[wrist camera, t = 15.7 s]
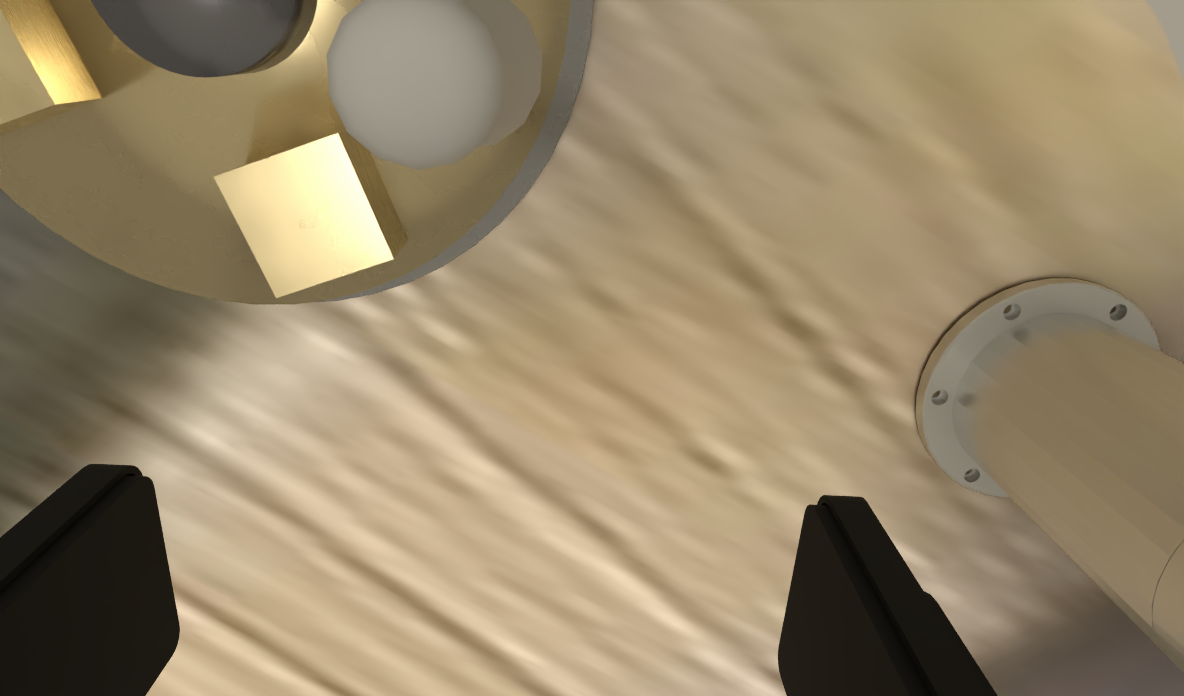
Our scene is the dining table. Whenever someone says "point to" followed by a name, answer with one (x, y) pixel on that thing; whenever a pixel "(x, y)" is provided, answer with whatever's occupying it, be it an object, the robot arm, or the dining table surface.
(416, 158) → the salt shaker
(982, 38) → the dining table surface
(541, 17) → the round wooden platform
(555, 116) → the round white base
